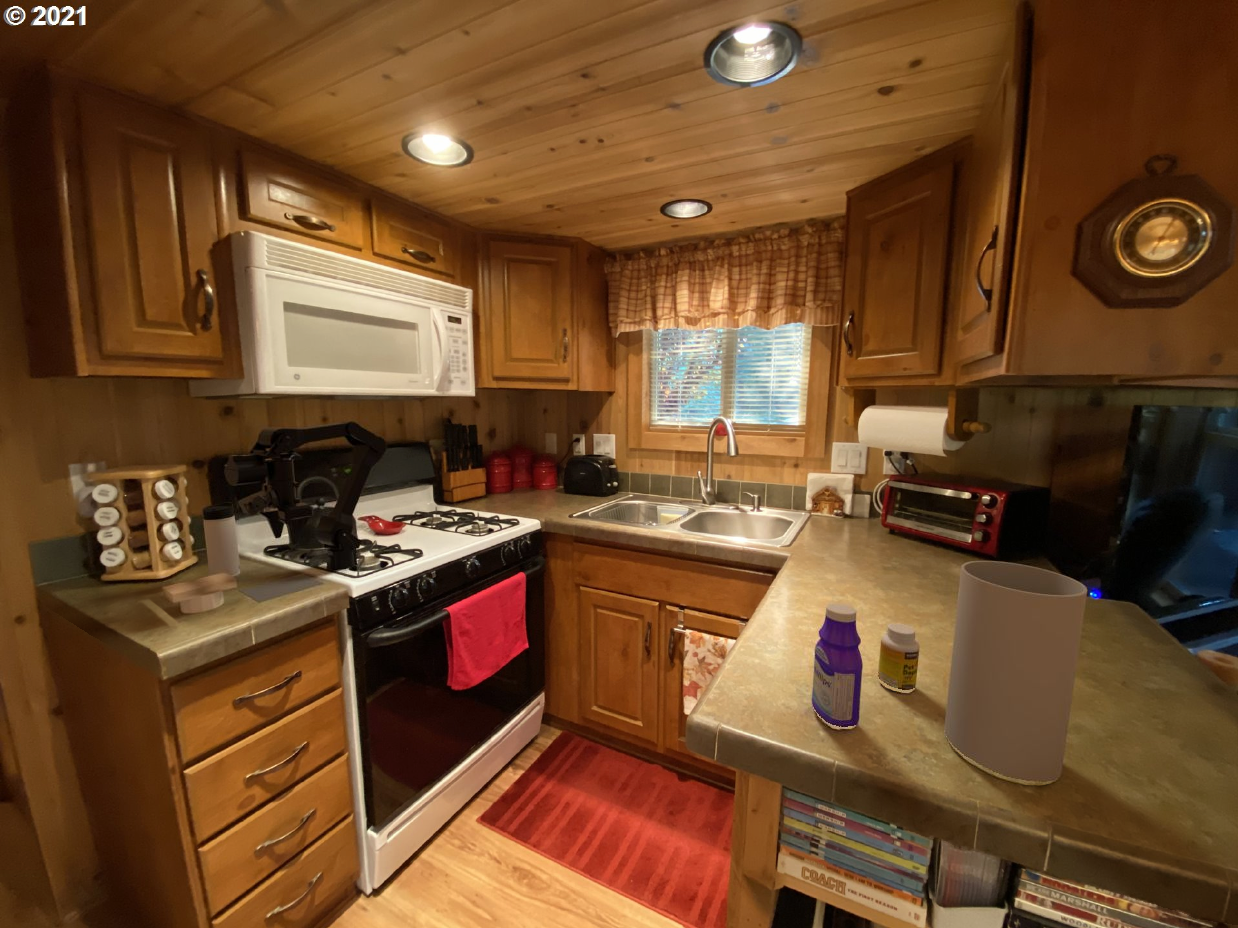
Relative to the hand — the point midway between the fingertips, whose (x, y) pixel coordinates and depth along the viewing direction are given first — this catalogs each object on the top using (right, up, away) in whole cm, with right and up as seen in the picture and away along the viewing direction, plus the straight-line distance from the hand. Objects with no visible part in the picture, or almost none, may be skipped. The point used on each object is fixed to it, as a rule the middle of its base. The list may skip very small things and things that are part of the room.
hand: (285, 541), depth 120 cm
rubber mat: (0, -12, -1) cm, 12 cm away
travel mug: (-20, -11, +7) cm, 24 cm away
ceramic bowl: (-10, -14, -12) cm, 21 cm away
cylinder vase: (+135, -20, -54) cm, 146 cm away
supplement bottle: (+129, -18, -39) cm, 136 cm away
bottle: (+115, -19, -47) cm, 126 cm away
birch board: (-10, -9, -12) cm, 19 cm away
